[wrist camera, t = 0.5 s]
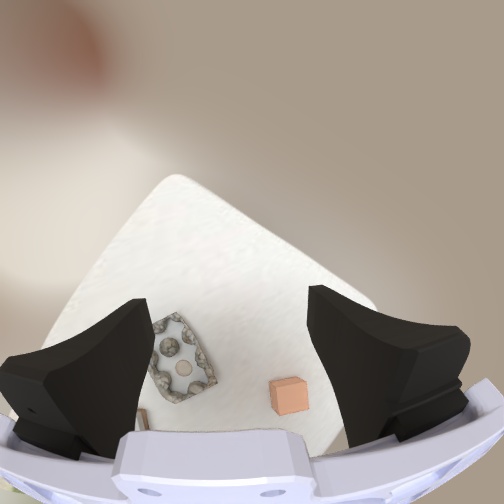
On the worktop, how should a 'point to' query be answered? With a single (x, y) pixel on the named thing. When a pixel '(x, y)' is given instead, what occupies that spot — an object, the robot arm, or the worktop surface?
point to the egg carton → (178, 363)
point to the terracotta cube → (289, 395)
